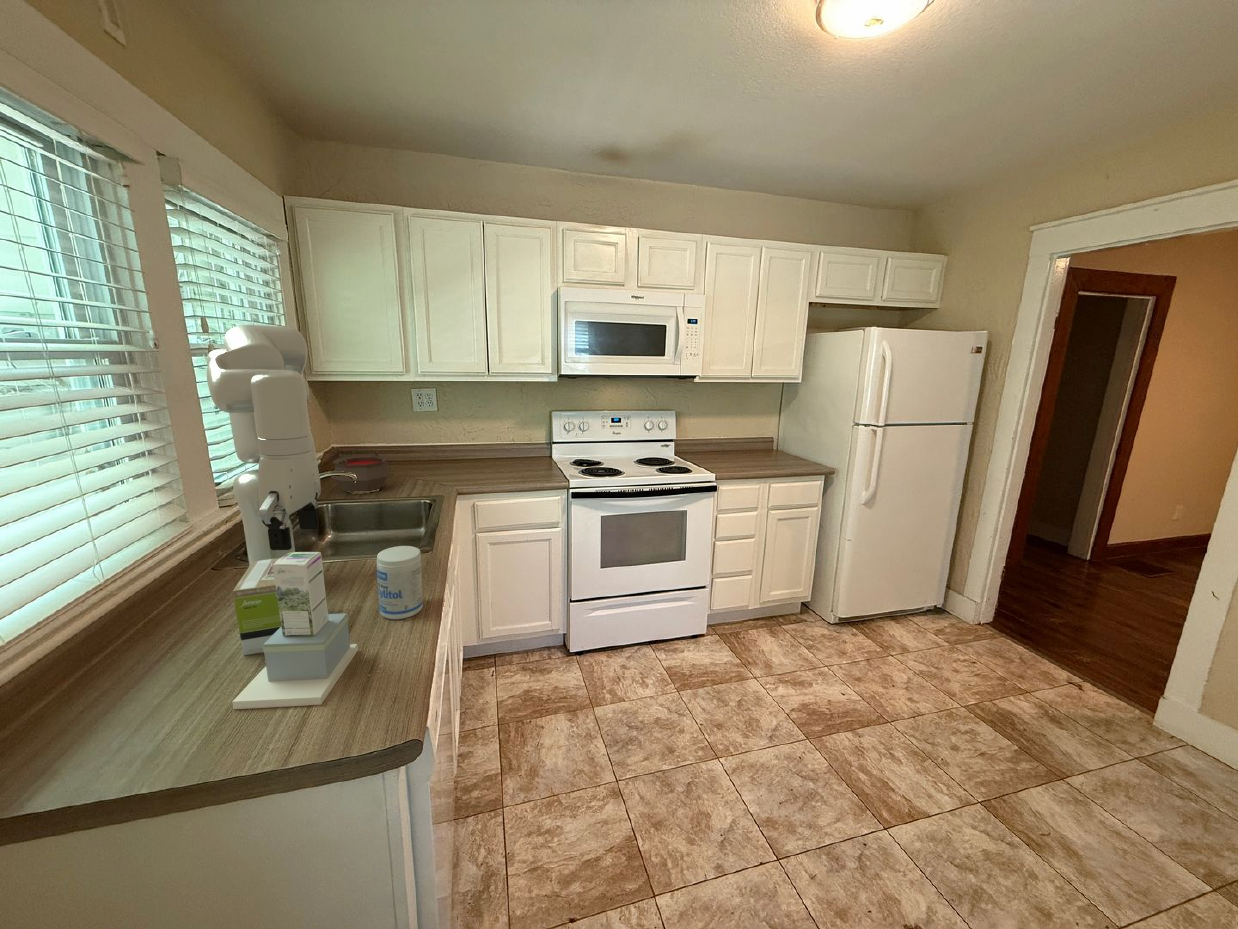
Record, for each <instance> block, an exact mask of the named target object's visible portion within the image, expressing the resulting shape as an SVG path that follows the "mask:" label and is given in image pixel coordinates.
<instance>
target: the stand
mask: <svg viewBox="0 0 1238 929" xmlns="http://www.w3.org/2000/svg"><path fill="white" fill-rule="evenodd" d="M328 617H329V621H328V622H327V623H326V624H325V625H324V626H323V627H322V628H321V629H320V630H319V632H317V633H316V634H315V635H314V636H283V634H282V627H280V628H279V629H278V630H277V631H276V632H275V633H274V634H273V635H272V636H271V637H270V638H269V639H268V640H267V641H266V642H265V643H264V644H263V647H262V648H263V654H264V661H265V666H264V668H262V670H261V671H260V672H259V673H257V675H255V677H254V678H253V679H252V680H251V681H250V682H249V683H248V684H247V685H246V687H245V688H244V689H243V690H242V691H241V692H239V694H238V695H237V696H236V697H235V698H234V699H233V700H232V703H231V704H232V708H233V710H245V709H247V710H248V709H262V708H263V709H264V708H265V709H266V708H267V709H268V708H284V707H301V706H302V707H305V706H319V705H320V706H321V705H322V704H323V703H324V701H325V700H326V698H327V697H328V695H330V692H331V691H332V689H333V688H334V686H335V685H336V683H337V682H338V680H339V679H340V678H341V677H342V674H343V673H344V672H345V670H346V669H347V667H349V664H350V662H351V661H352V660H353V658H354V657H355V656H356V654H357V652H358V649H359V647H358V644H357V643H350V634H349V631H350V630H349V625H348V624H349V623H348V621H349V616H348V613H328Z"/></svg>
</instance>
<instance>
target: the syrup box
mask: <svg viewBox="0 0 1238 929" xmlns="http://www.w3.org/2000/svg"><path fill="white" fill-rule="evenodd" d="M273 571H274V578H275V584H276V591H277V599H278V606H279V613H280V620H281V627H282V634H283V636H314V635H315V634H316V633H317V632H319V630H320V629H321V628H322V627H323V626H324V625H325V624H326V623H327V622H328V621H329V617H328V614H329V612H328V611H329V610H328V606H327V605H328V604H327V595H326V587H325V577H324V567H323V556H322V552H320V551H298V552H297V551H295V552H289V553H288V554H286V555H284V556H282V557H281V558H280V559H278V560H277V561H276V562H275V563H274V564H273Z"/></svg>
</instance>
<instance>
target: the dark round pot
mask: <svg viewBox="0 0 1238 929" xmlns="http://www.w3.org/2000/svg"><path fill="white" fill-rule="evenodd" d="M379 454H380V451H378V449H374V451H373V454H371V455H370V454H368V455H367V454H364V455H363V454H361V455H360V454H358V455H352V456H350V455H349V456H345V457H341V458H340V457H339V458H337V459H336V460H334V461H332V464H333V465H334V469H333V472H334V471H344V472H352V473H355V474H356V475H357V481H356V483H354V482H353V480H352V479H351V478H350V477H348V476H344V475H340V476H332V475H331V477H330V478H331V480H332V481H333V482H335V483H336V485H338V487H339V488H340V489H341V490H342V491H343V492H345V491H350V492H354V491H372V490H377V489H380V488H381V487H382V488H383V487H384V485H385V483H386V482H387V480H388V479H389V477H390V476H391V474H392V472H393V470H392V469H391V467H390V466H389V463H388V462H387V460H388V459H389V457H388V456H385V455H384V456H382V455H379ZM382 488H381V489H382ZM381 489H380V490H381Z"/></svg>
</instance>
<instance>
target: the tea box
mask: <svg viewBox="0 0 1238 929" xmlns="http://www.w3.org/2000/svg"><path fill="white" fill-rule="evenodd" d="M278 559H280V558H276V559H268V560H260V561H253V562H252V564H251V565H250V566H248V568H247V569H246V570H245V572H244V574H243V575H242V577H241V578H240V579H239V581H238V583H236V585H235V587H234V589H233V590H232V599H233V604H234V610H235V616H236V622H237V626H238V627H237V628H238V633H239V638H240V644H241V650H242V654H243V656H251V655H256V654H264V652H263V648H262V647H263V644H264V643H265V642H266V641H267V640H268V639H269V638H270V637H271V636H272V635H273V634H274V633H275V632H276V631H277V630H278V629H279V628H280V627H281V620H280V613H279V606H278V599H277V591H276V584H275V578H274V571H273V564H274V563H275V562H276V561H277V560H278Z"/></svg>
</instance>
